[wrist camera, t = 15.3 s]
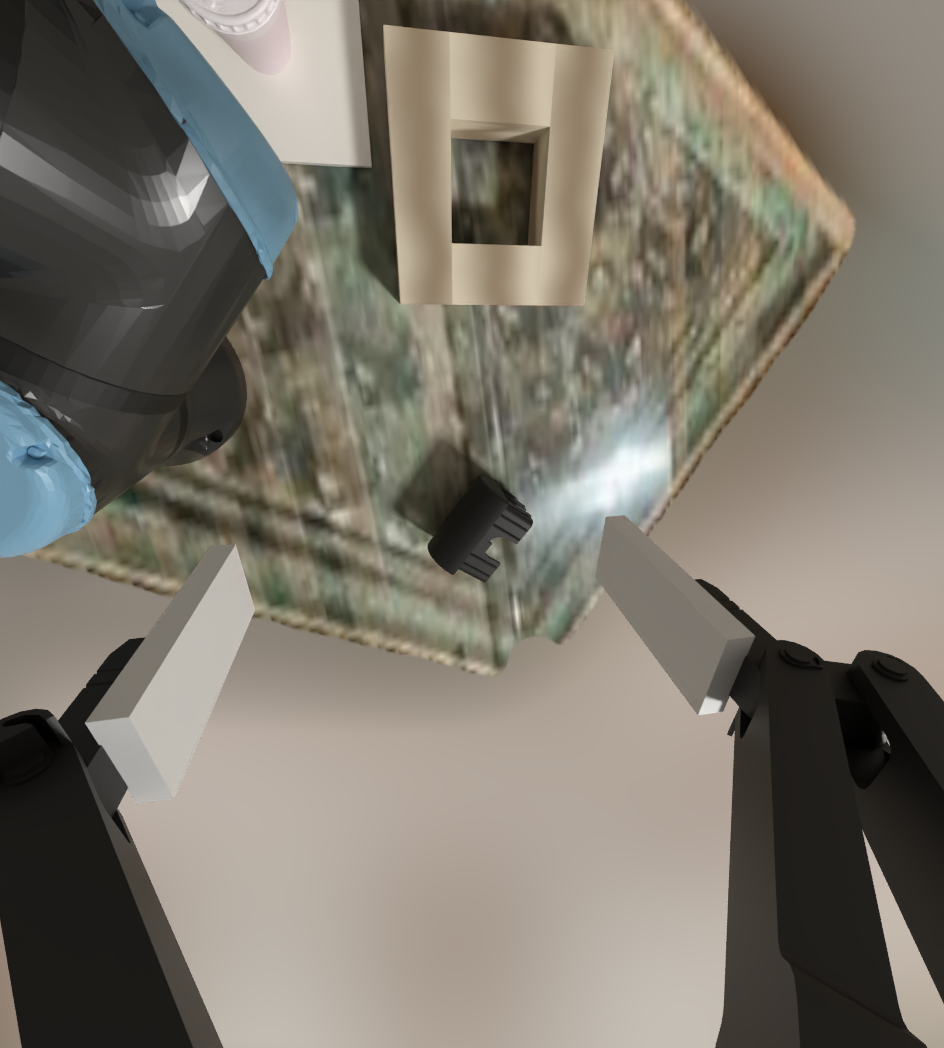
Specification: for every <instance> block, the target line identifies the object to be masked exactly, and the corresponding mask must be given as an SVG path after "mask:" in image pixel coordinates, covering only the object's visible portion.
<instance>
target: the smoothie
mask: <svg viewBox="0 0 944 1048" xmlns="http://www.w3.org/2000/svg"><path fill="white" fill-rule="evenodd" d="M178 1H179V2H180V3H181V4H182V5H183V7H184V8H185V9H186V10H187V11H188V12H189V13H190V14H191V15H193V16H194V17H195V18H196V19H198V20H199V21H200V22H202V23H203V24H204V25H205V26H207V27H210V28H212V29H214V30H215V31H216V32H217V33H218V34H219V35H220V36H221V37H222V38H223V39H224V40H225V41H226V42H227V43H228V44H229V45H230V46H231V47H232V48H233V49H234V50H235V51H236V52H237V53H238V54H239V55H240V56H241V57H242V58H243V59H244V60H245V61H246V62H247V63H248V64H249V65H250V66H251V67H252V68H253V69H254V70H256V71H258V72H260V73H262V74H266V75H274V74H277V73H279V72H281V71H282V70H283V69H284V68H285V67H286V65H287V64H288V61H289V58H290V54H291V40H290V33H289V27H288V21H287V14H286V8H285V1H284V0H178Z"/></svg>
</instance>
